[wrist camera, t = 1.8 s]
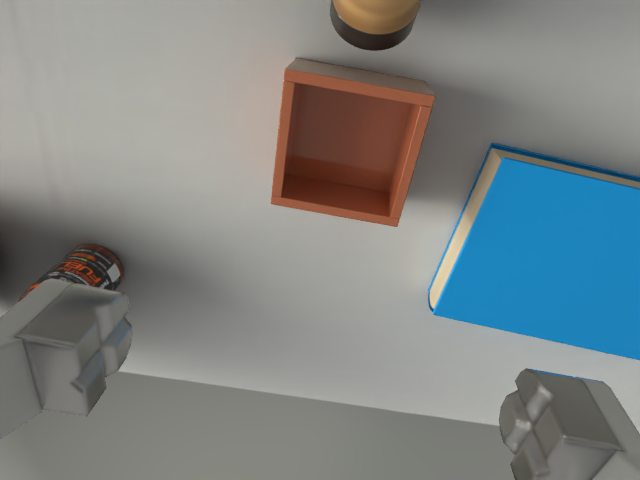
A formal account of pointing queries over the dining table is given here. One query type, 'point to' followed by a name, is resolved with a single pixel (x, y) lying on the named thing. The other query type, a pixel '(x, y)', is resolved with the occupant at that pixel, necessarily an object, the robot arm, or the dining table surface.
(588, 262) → the book
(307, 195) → the caddy
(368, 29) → the brush
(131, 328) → the robot arm
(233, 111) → the dining table surface
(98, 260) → the supplement bottle
